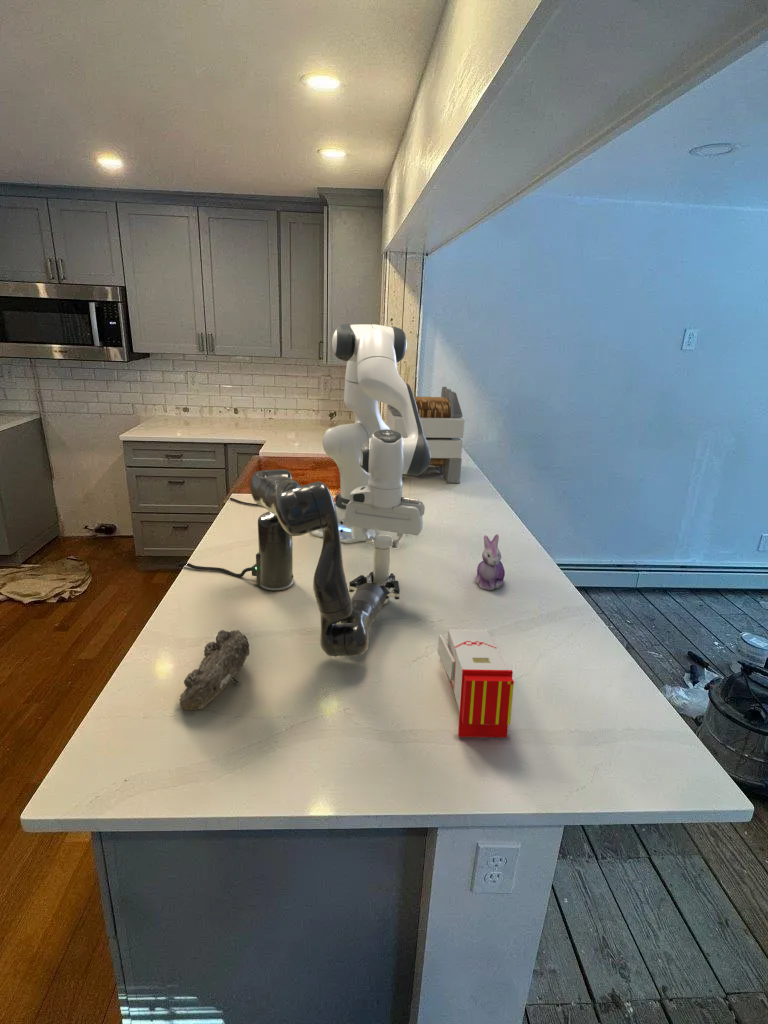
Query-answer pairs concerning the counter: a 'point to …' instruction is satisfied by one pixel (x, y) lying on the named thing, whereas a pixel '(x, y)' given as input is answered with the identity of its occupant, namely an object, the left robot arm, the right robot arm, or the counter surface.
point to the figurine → (490, 565)
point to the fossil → (215, 669)
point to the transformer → (437, 430)
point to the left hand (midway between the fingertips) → (383, 575)
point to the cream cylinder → (381, 565)
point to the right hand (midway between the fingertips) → (382, 545)
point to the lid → (382, 541)
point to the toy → (478, 682)
